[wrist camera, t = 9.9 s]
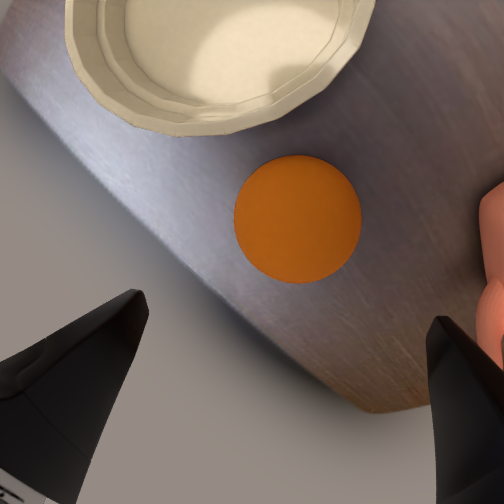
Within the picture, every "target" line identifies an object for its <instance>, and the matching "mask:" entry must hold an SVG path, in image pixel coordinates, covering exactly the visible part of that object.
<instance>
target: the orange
mask: <svg viewBox="0 0 504 504" xmlns="http://www.w3.org/2000/svg"><path fill="white" fill-rule="evenodd" d="M361 225H362V214H361V207H360V203H359V199H358V197H357V194H356V192H355V190H354V188H353V187H352V185H351V183H350V182H349V181H348V179H347V178H346V177H345V176H344V175H343V174H342V173H341V172H340V171H339V170H338V169H336V168H335V167H334V166H332V165H331V164H329V163H327V162H325V161H323V160H321V159H318V158H315V157H311V156H304V155H290V156H284V157H280V158H277V159H274V160H272V161H269V162H267V163H266V164H264V165H262V166H261V167H259V168H258V169H257V170H256V171H255V172H254V173H253V174H252V175H251V176H250V177H249V178H248V179H247V180H246V182H245V183H244V185H243V186H242V188H241V190H240V192H239V194H238V197H237V200H236V203H235V209H234V229H235V234H236V237H237V241H238V243H239V246H240V248H241V249H242V251H243V253H244V254H245V256H246V257H247V259H248V260H249V261H250V262H251V263H252V264H253V265H254V266H255V267H256V268H257V269H258V270H260V271H261V272H262V273H264V274H266V275H267V276H269V277H271V278H273V279H276V280H279V281H282V282H287V283H298V284H300V283H309V282H314V281H317V280H320V279H323V278H325V277H327V276H329V275H331V274H332V273H334V272H335V271H337V270H338V269H339V268H340V267H341V266H342V265H343V264H344V263H345V262H346V261H347V260H348V259H349V257H350V256H351V255H352V253H353V251H354V249H355V247H356V245H357V243H358V240H359V237H360V232H361Z"/></svg>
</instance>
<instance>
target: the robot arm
mask: <svg viewBox="0 0 504 504" xmlns="http://www.w3.org/2000/svg"><path fill="white" fill-rule="evenodd" d="M148 316H149V309H148V306H147V302H146V299H145V295H144V293H143V291H141V290H136V289H130V290H128V291H126V292H124V293H122V294H121V295H119V296H117V297H115V298H114V299H112V300H110V301H108V302H106V303H105V304H103V305H101V306H99V307H98V308H96V309H94V310H92V311H91V312H89V313H87V314H85V315H84V316H82V317H80V318H78V319H77V320H75V321H73V322H71V323H70V324H68V325H66V326H64V327H63V328H61V329H59V330H58V331H56V332H54V333H53V334H51V335H49V336H47V337H46V339H45V338H44V339H42V340H41V341H39V342H37V343H35V344H34V345H32V346H30V347H28V348H27V349H25V350H23V351H21V352H19V353H17V354H15V355H13V356H11V357H9V358H7V359H6V360H3V361H1V362H0V504H44V502H45V500H46V497H47V498H49V499H51V500H53V501H55V502H57V503H59V504H76V501H77V498H78V495H79V493H80V490H81V487H82V484H83V482H84V479H85V476H86V473H87V471H88V468H89V465H90V463H91V459H92V457H93V454H94V452H95V449H96V447H97V444H98V442H99V439H100V437H101V434H102V431H103V429H104V426H105V424H106V422H107V419H108V417H109V415H110V412H111V410H112V407H113V405H114V403H115V400H116V398H117V395H118V393H119V391H120V389H121V386H122V384H123V381H124V380H125V377H126V375H127V372H128V371H129V368H130V366H131V364H132V362H133V359H134V357H135V354H136V352H137V349H138V346H139V343H140V340H141V337H142V334H143V331H144V328H145V325H146V322H147V319H148ZM426 353H427V369H428V386H429V394H430V402H431V409H432V418H433V429H434V441H435V457H436V504H504V371H503V370H502V369H501V368H500V367H499V366H498V365H497V364H496V363H495V362H494V361H493V360H492V359H491V358H490V357H489V356H488V355H487V354H486V352H485V351H484V350H483V349H482V348H481V347H480V346H479V345H478V344H477V343H476V342H475V341H473V340H472V339H471V338H470V337H469V336H468V335H467V334H466V333H465V332H464V331H463V330H462V329H461V328H460V327H459V326H458V325H457V324H456V323H455V322H454V321H453V320H452V319H451V318H450V317H448V316H436V317H435V318H434V320H433V322H432V324H431V327H430V329H429V331H428V333H427V336H426Z"/></svg>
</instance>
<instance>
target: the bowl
mask: <svg viewBox="0 0 504 504" xmlns="http://www.w3.org/2000/svg"><path fill="white" fill-rule="evenodd" d="M375 2H376V0H66V3H65V4H66V5H65V40H66V41H65V43H66V46H67V49H68V53H69V56H70V59H71V62H72V65H73V68H74V71H75V74H76V75H77V77H78V78H79V79H80V81H81V82H82V83H83V85H84V86H85V87H86V89H87V90H88V91H89V92H90V94H91V95H92V96H93V97H94V99H95V100H96V101H97V103H98V104H100V105H101V106H102V107H104V108H105V109H107V110H109V111H110V112H112V113H113V114H115V115H116V116H118V117H120V118H121V119H123V120H124V121H126V122H127V123H129V124H130V125H133V126H134V127H138V128H142V129H146V130H150V131H154V132H158V133H162V134H166V135H169V136H173V137H190V136H218V135H229V134H232V133H235V132H238V131H241V130H244V129H248V128H251V127H254V126H257V125H260V124H264V123H267V122H270V121H274V120H277V119H279V118H281V117H283V116H284V115H286V114H287V113H289V112H290V111H292V110H293V109H295V108H296V107H298V106H299V105H301V104H302V103H304V102H306V101H307V100H309V99H310V98H312V97H313V96H315V95H317V94H318V93H320V92H321V91H323V90H325V88H327V87H328V86H329V84H330V83H331V82H332V81H333V80H334V78H335V77H336V76H337V75H338V74H339V72H340V71H341V70H342V69H343V68H344V66H345V65H346V64H347V63H348V62H349V61H350V59H351V58H352V57H353V56H354V55H355V53H356V52H357V51H358V50H359V48H360V47H361V44H362V41H363V39H364V36H365V33H366V30H367V27H368V24H369V22H370V19H371V16H372V13H373V10H374V7H375Z"/></svg>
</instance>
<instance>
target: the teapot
mask: <svg viewBox="0 0 504 504" xmlns="http://www.w3.org/2000/svg"><path fill="white" fill-rule="evenodd" d="M479 225H480V235H481V243H482V252H483V260H484V267H485V272H486V278H487V283H488V284H487V286H486V287H485V289H484V290H483V292H482V295H481V297H480V299H479V301H478V306H477V311H476V333H477V342H478V345H479V346H480V347H481V348H482V349H483V350H484V351H485V352H486V354H487V355H488V356H489V357H490V358H491V359H492V360H493V361H494V362H495V363H496V364H497V365H498V366H499V367H500V368H501V369H502V370H503V361H502V352H501V339H502V336H503V334H504V182H502V183H501V184H499V185H498V186H496V187H495V188H494V189H492V190H491V191H490V192H488V193H487V194H486V195H485V196H484V197H483V198H482V200H481V202H480V206H479Z"/></svg>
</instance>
